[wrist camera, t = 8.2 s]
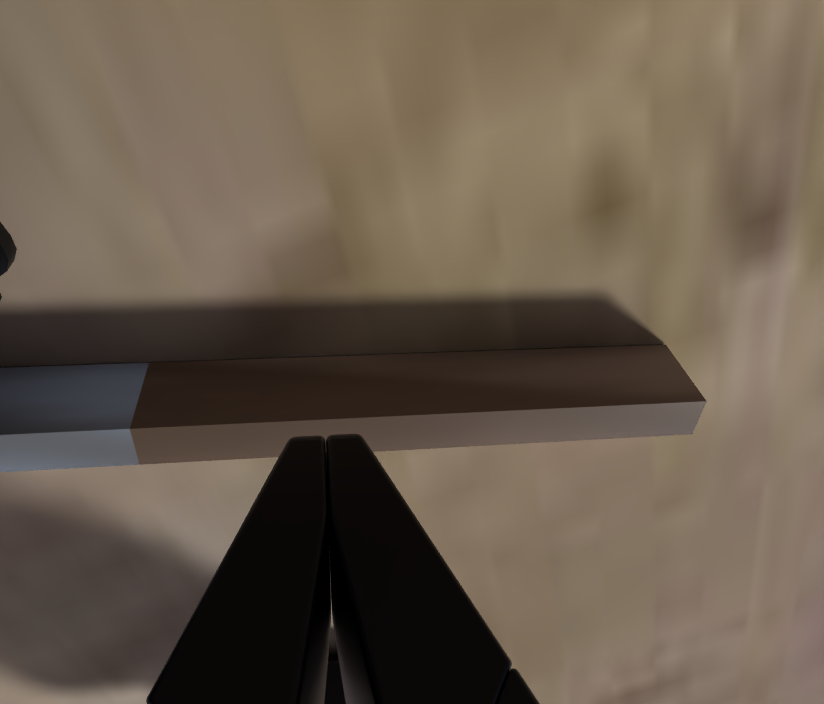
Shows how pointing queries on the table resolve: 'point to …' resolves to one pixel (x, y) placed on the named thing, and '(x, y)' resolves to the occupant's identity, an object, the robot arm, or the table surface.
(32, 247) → the table surface
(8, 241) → the end cap
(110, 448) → the rail
